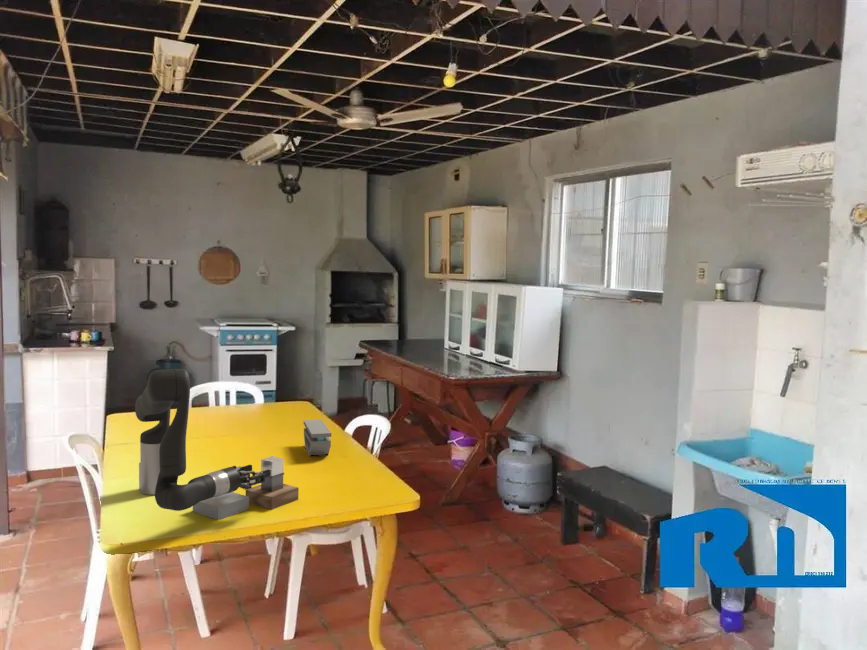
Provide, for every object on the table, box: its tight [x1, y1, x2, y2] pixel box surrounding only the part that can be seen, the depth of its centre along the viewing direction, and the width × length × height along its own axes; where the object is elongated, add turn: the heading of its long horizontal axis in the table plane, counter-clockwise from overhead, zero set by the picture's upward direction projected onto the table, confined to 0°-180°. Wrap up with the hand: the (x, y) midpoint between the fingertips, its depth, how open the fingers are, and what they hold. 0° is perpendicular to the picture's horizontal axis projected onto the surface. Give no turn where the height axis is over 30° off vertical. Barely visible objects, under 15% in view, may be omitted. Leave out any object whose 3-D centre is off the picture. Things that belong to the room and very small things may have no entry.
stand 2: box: [245, 483, 300, 510], centre depth 225 cm, size 12×12×4 cm
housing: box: [260, 455, 285, 492], centre depth 224 cm, size 5×5×10 cm
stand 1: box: [192, 491, 250, 521], centre depth 214 cm, size 12×12×4 cm
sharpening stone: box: [303, 419, 332, 457], centre depth 284 cm, size 25×8×11 cm, turn 18°
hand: (260, 470), depth 220 cm, fingers open, 8 cm apart
